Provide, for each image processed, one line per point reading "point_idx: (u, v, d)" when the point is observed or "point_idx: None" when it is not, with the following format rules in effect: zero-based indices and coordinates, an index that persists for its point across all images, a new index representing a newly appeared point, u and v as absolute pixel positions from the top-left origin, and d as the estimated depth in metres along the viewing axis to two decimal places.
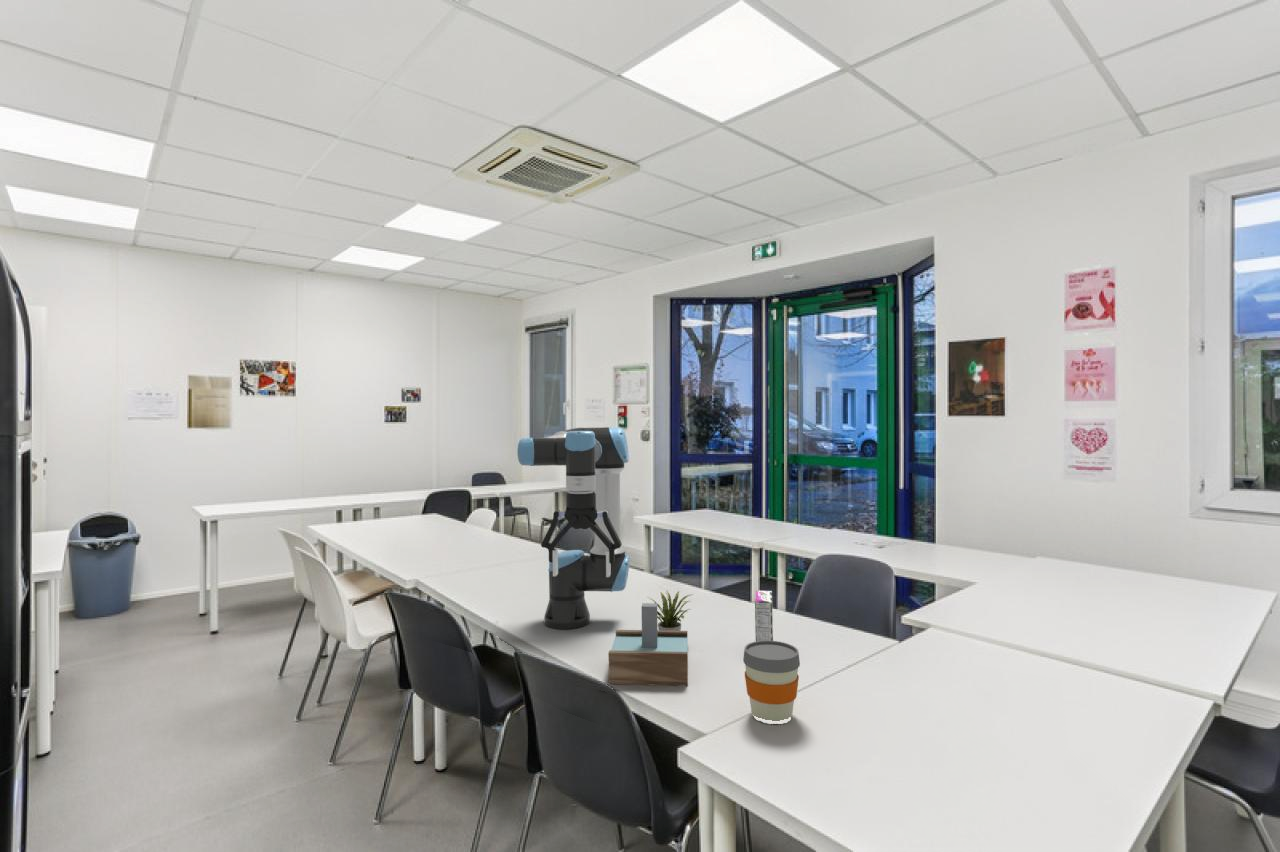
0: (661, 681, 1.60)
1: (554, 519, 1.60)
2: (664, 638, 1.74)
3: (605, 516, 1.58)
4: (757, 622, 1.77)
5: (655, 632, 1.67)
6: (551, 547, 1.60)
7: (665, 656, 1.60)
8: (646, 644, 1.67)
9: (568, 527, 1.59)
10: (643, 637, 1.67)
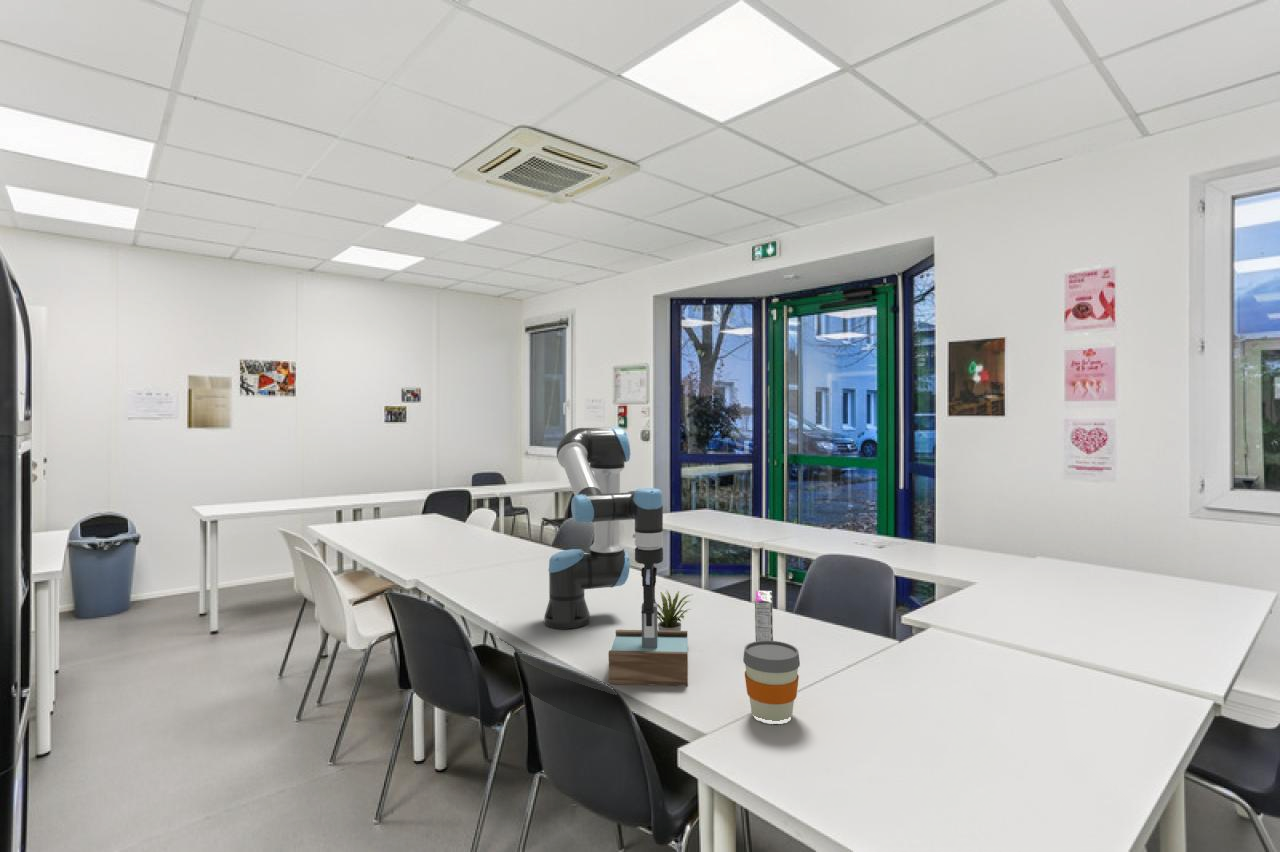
0: (661, 681, 1.60)
1: None
2: (664, 638, 1.74)
3: (643, 581, 1.63)
4: (757, 622, 1.77)
5: (655, 632, 1.67)
6: None
7: (665, 656, 1.60)
8: (646, 644, 1.67)
9: None
10: (643, 637, 1.67)
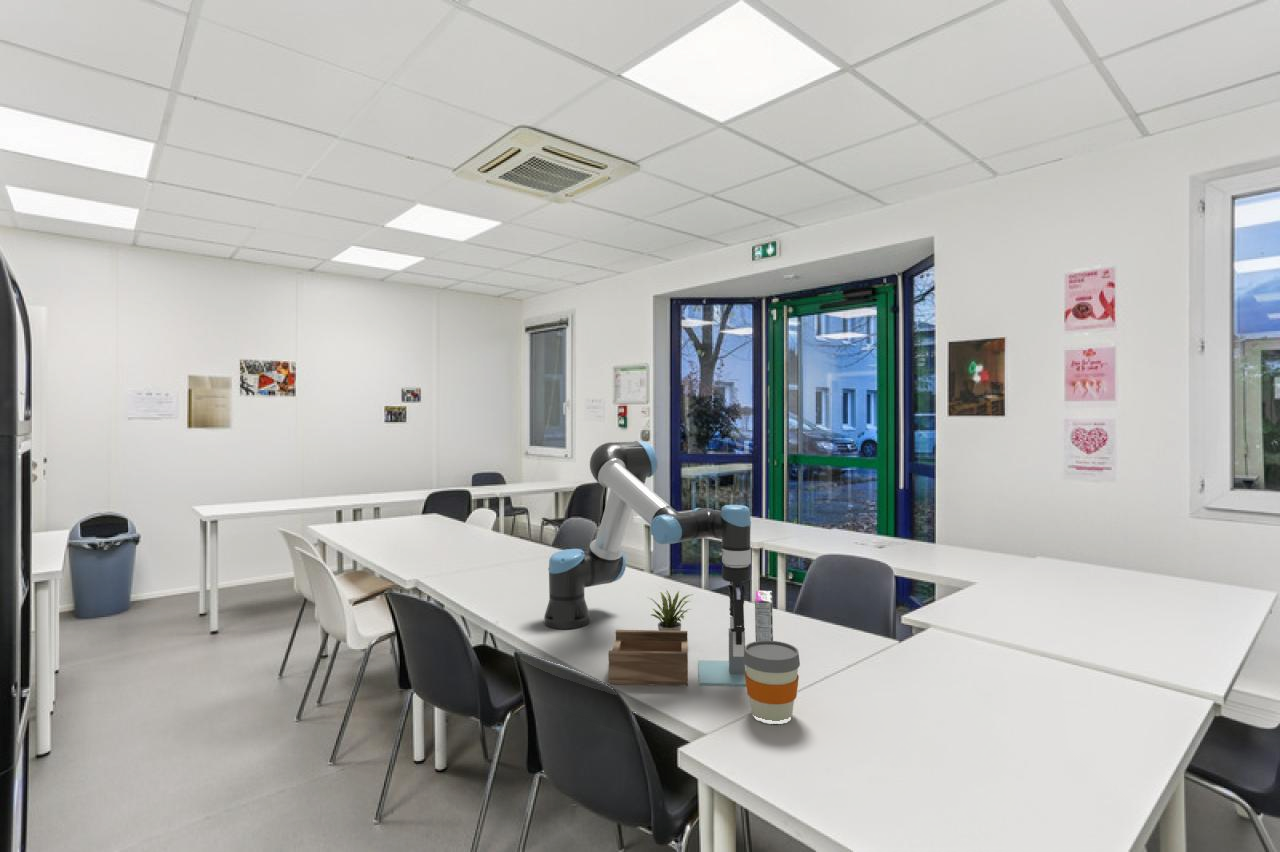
0: (661, 681, 1.60)
1: None
2: None
3: (733, 596, 1.61)
4: (757, 622, 1.77)
5: (743, 658, 1.65)
6: (730, 613, 1.73)
7: (665, 656, 1.60)
8: (734, 670, 1.66)
9: (729, 595, 1.69)
10: (731, 663, 1.66)
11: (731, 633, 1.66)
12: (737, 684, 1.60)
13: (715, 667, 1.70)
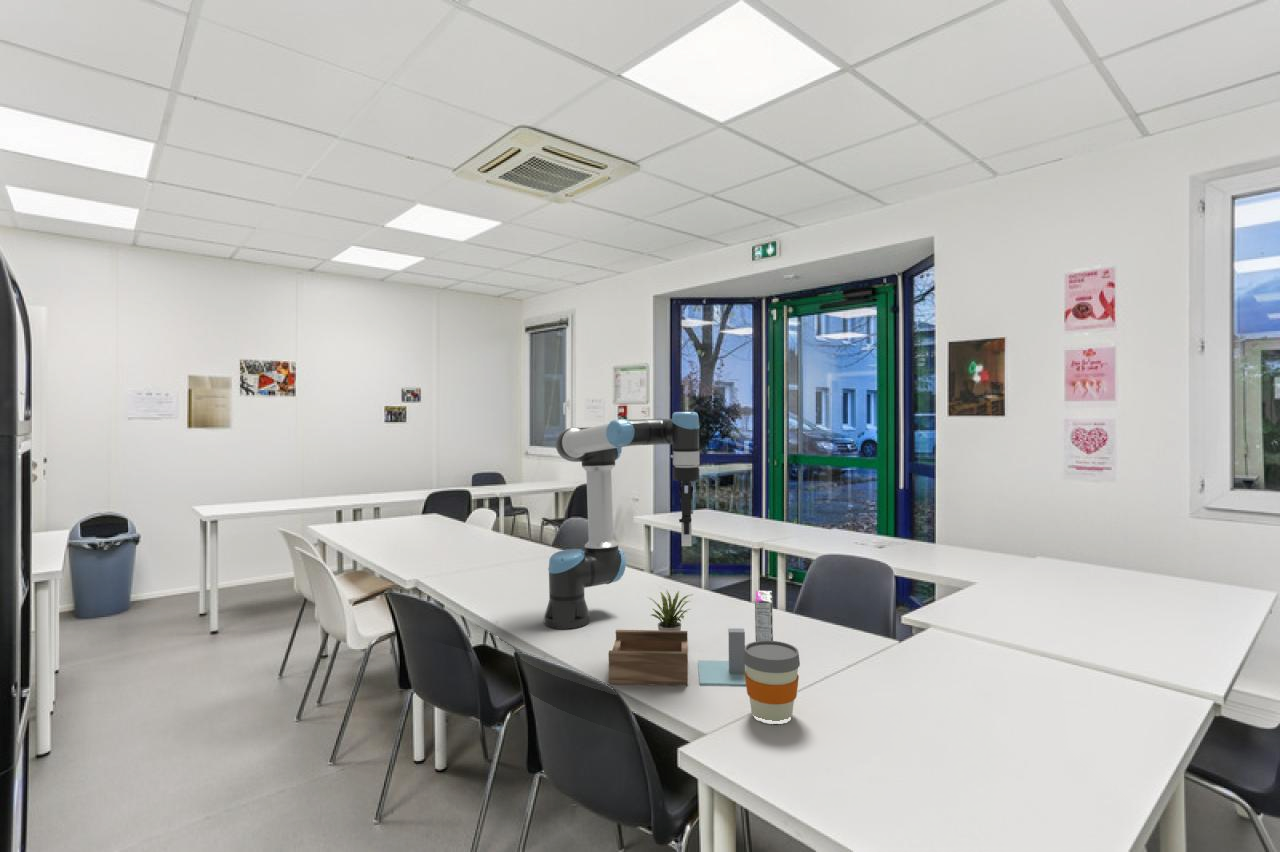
0: (661, 681, 1.60)
1: None
2: None
3: (681, 490, 1.73)
4: (757, 622, 1.77)
5: (743, 658, 1.65)
6: None
7: (665, 656, 1.60)
8: (734, 670, 1.66)
9: None
10: (731, 663, 1.66)
11: (731, 633, 1.66)
12: (737, 684, 1.60)
13: (715, 667, 1.70)
